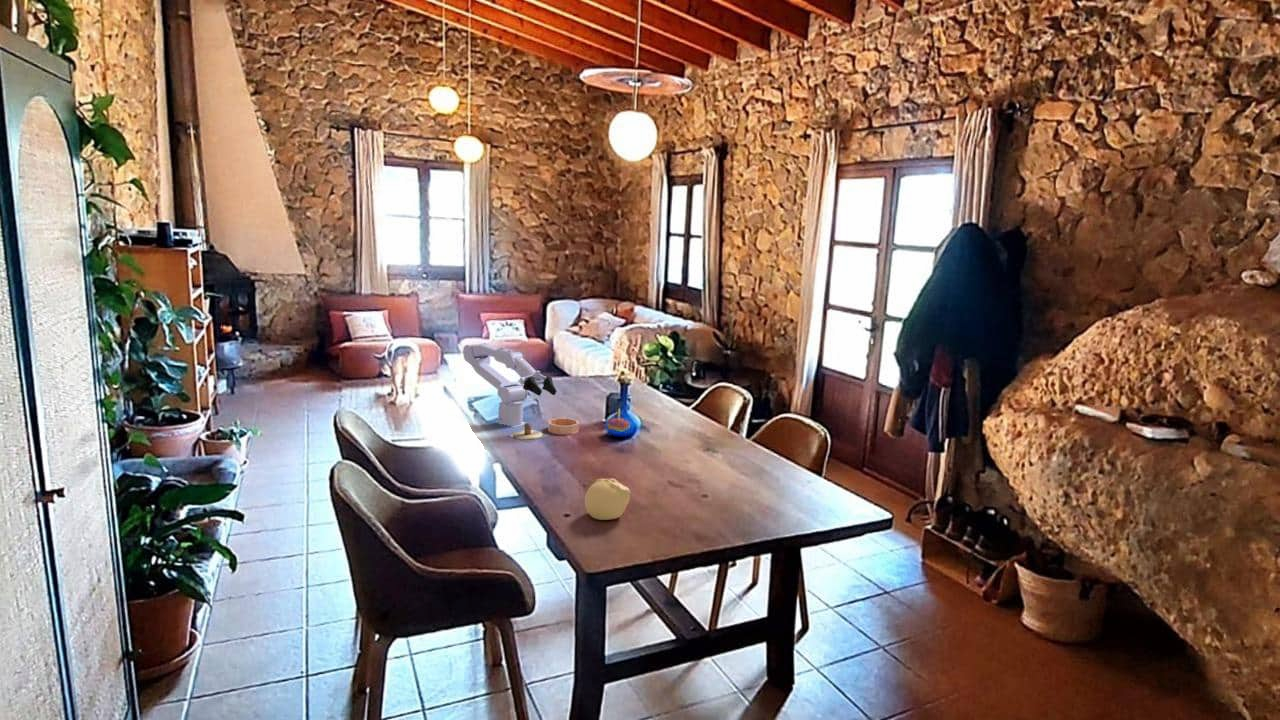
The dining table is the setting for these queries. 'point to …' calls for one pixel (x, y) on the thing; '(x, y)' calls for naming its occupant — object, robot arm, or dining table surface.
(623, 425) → the cupcake
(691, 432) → the dining table surface
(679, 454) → the dining table surface
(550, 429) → the octagonal bowl
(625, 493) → the butter
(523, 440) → the mat
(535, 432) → the lid
